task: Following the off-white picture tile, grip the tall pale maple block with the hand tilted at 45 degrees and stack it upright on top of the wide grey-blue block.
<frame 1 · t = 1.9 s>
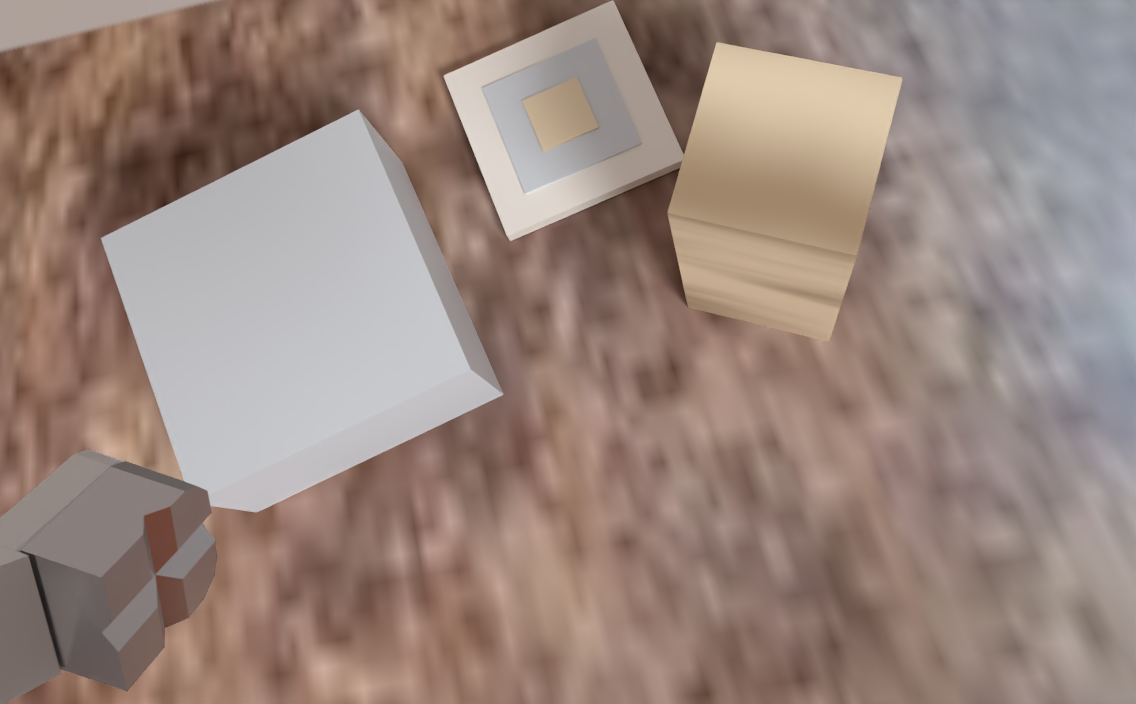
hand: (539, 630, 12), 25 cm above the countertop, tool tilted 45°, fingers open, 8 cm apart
maple block: (775, 257, 38), on the countertop
grey-blue block: (333, 334, 40), on the countertop
picture tile: (563, 122, 40), on the countertop
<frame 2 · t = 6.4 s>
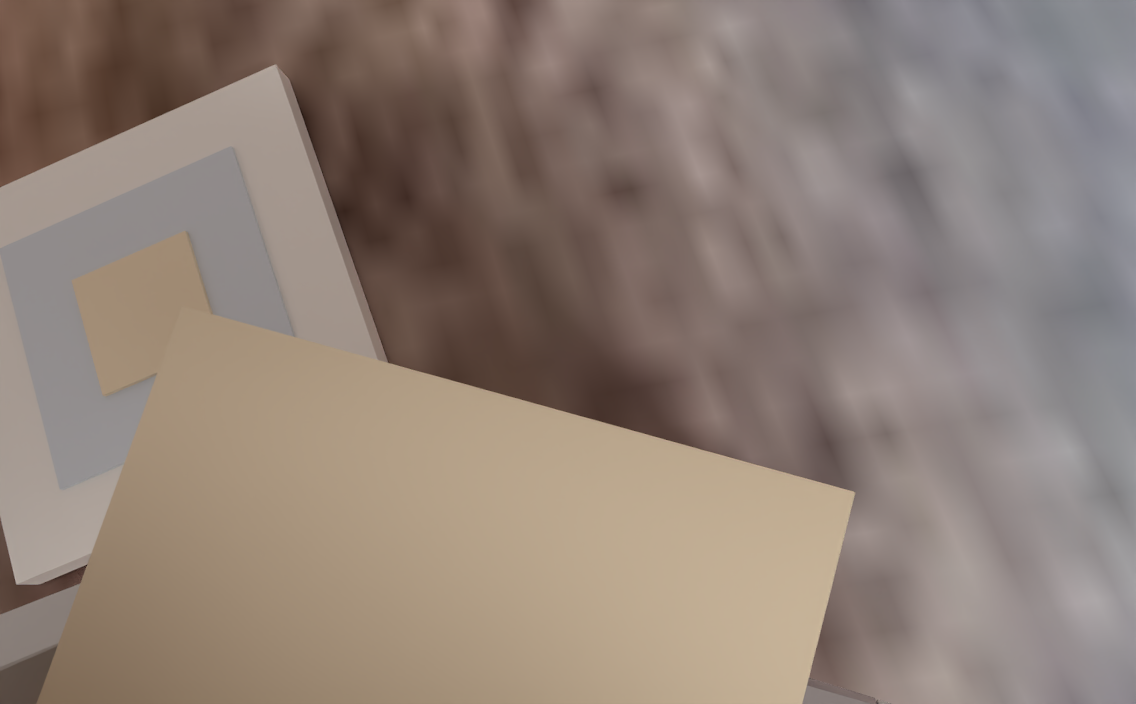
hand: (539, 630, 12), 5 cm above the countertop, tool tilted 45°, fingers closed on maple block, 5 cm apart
maple block: (592, 658, 17), on the countertop, touching gripper
picture tile: (168, 323, 19), on the countertop
when the fingers open (12 cm above the countertop, at t = 12.4 s): maple block drops 2 cm, point 5 cm above the countertop.
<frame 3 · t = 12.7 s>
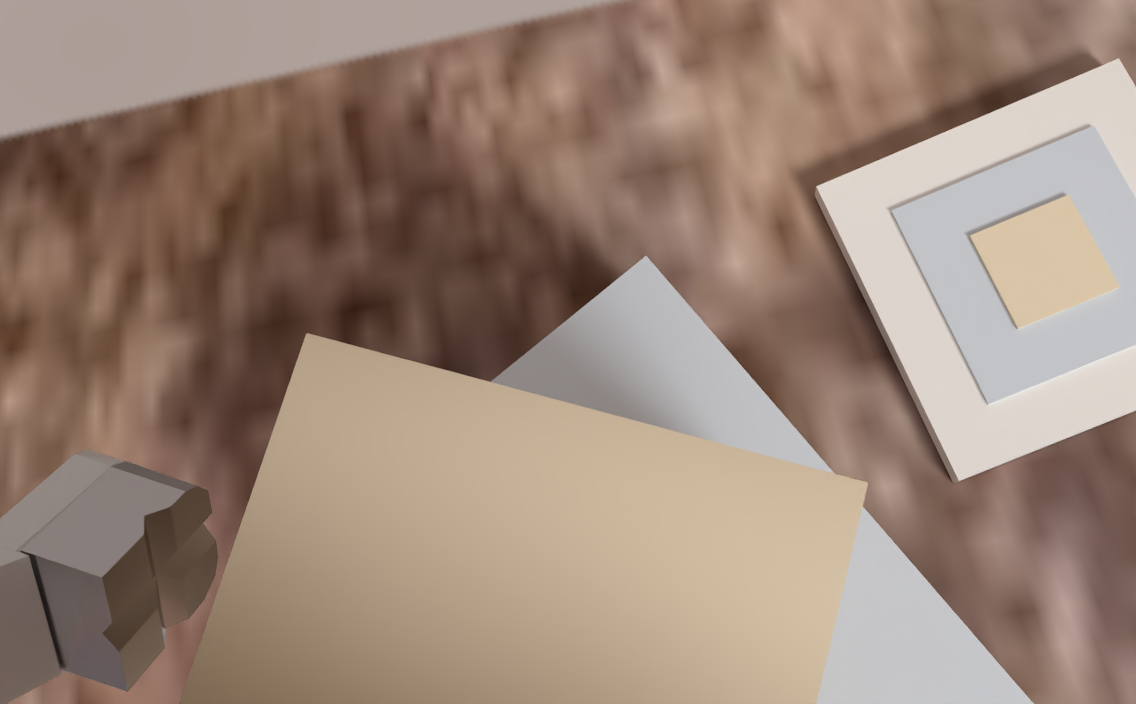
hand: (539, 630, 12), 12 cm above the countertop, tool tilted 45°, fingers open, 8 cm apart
maple block: (605, 648, 18), point 5 cm above the countertop
grey-blue block: (632, 636, 23), on the countertop
picture tile: (1033, 271, 23), on the countertop
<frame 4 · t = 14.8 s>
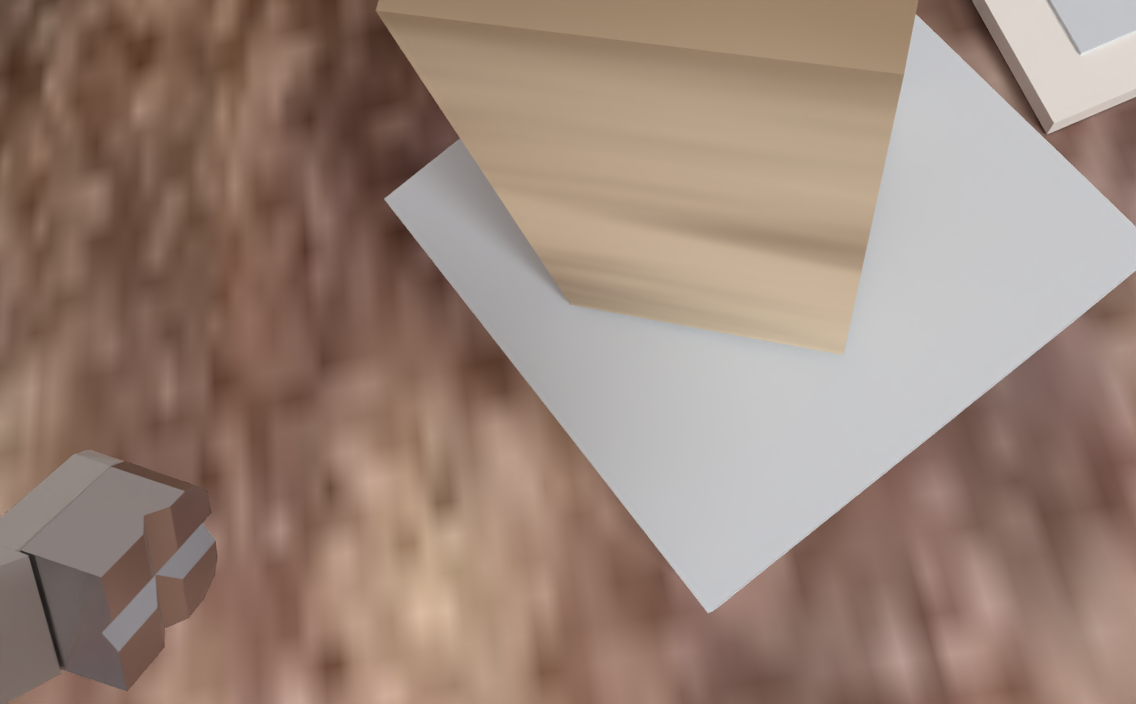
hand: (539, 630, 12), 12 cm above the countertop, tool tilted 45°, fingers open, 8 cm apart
maple block: (731, 200, 20), point 5 cm above the countertop, touching grey-blue block
grey-blue block: (747, 294, 25), on the countertop, touching maple block
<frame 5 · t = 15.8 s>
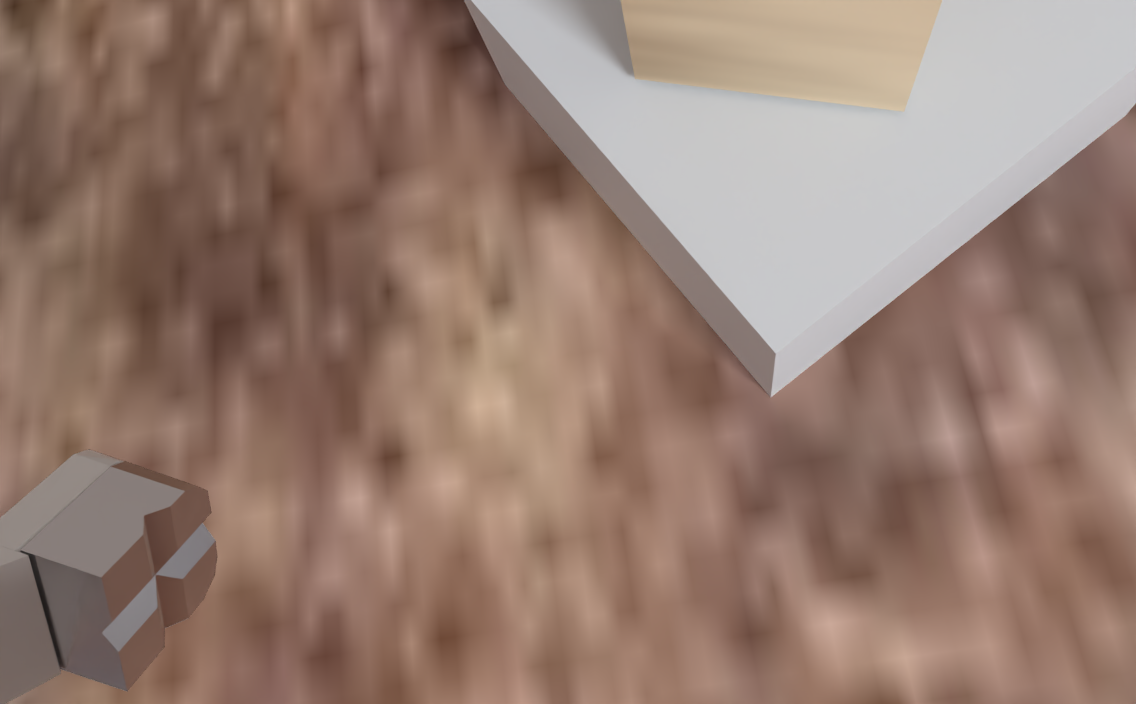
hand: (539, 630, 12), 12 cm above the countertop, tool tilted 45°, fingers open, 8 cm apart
grey-blue block: (798, 104, 25), on the countertop, touching maple block
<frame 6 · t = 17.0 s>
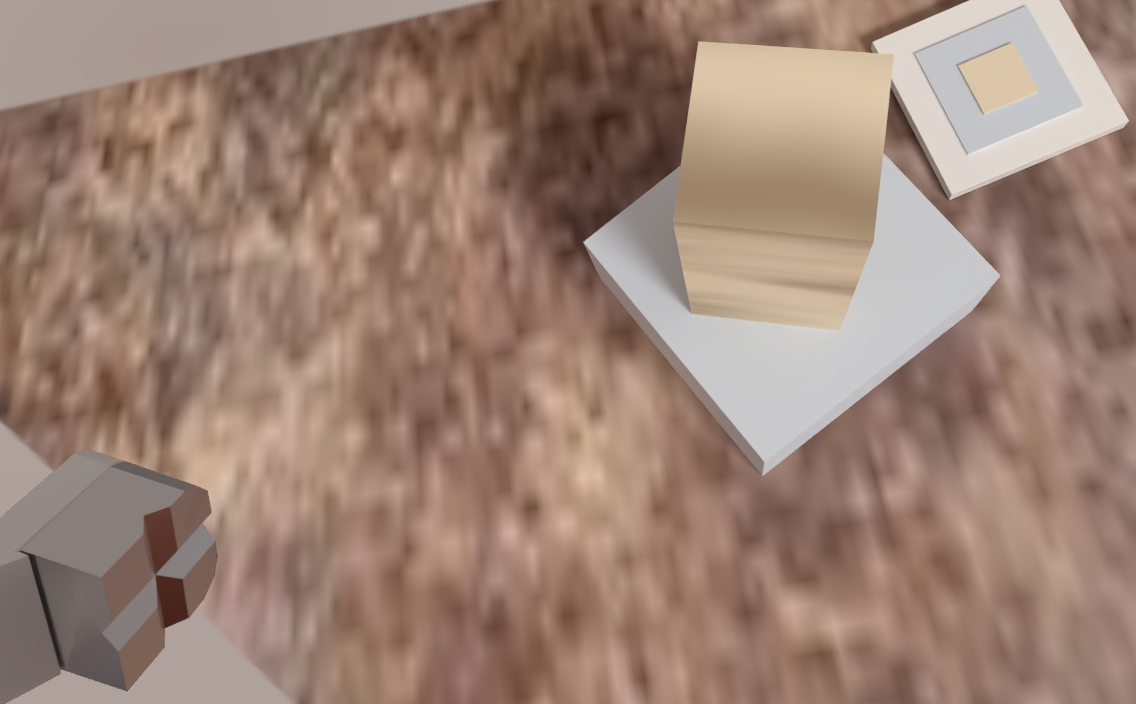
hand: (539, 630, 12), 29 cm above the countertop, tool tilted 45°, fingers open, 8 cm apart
maple block: (773, 252, 37), point 5 cm above the countertop
grey-blue block: (779, 296, 42), on the countertop
picture tile: (993, 87, 42), on the countertop
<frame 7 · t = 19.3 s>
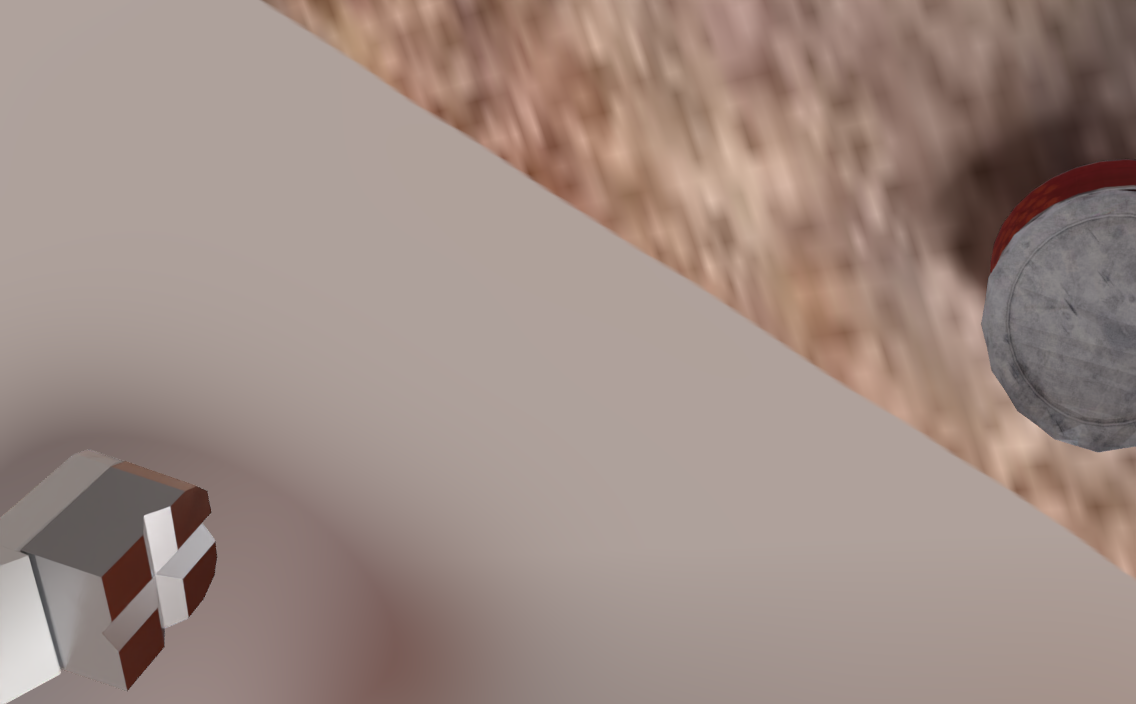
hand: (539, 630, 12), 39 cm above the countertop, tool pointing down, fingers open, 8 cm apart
canned food: (1109, 261, 47), on the countertop
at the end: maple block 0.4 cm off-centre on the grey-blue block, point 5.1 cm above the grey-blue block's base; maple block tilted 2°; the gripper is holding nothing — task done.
